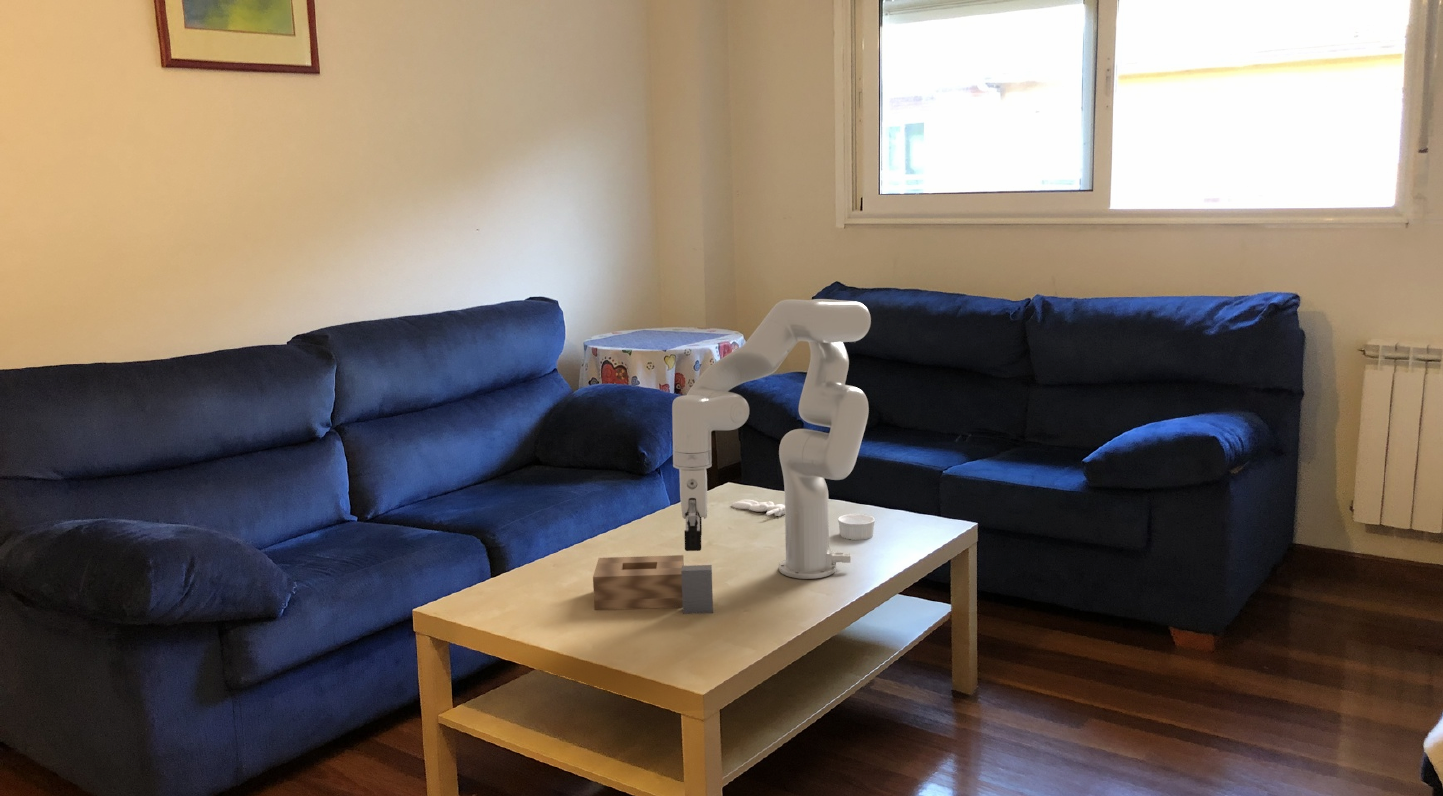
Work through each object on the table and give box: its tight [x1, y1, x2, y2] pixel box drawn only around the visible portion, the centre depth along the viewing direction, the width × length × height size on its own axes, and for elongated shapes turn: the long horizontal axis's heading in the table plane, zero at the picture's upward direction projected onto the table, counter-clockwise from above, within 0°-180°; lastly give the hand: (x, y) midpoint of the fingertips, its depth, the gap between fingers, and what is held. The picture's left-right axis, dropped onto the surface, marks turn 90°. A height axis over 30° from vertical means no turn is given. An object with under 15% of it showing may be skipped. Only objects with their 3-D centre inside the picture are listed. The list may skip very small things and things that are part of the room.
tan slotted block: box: [592, 554, 685, 611], centre depth 228 cm, size 18×12×7 cm, turn 91°
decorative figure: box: [730, 499, 785, 517], centre depth 290 cm, size 4×12×18 cm
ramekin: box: [837, 513, 876, 541], centre depth 266 cm, size 9×9×4 cm
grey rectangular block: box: [681, 564, 714, 615], centre depth 220 cm, size 6×3×9 cm, turn 91°
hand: (693, 542), depth 218 cm, fingers open, 9 cm apart
